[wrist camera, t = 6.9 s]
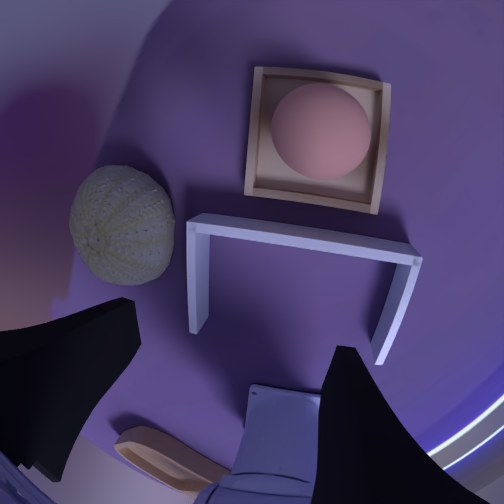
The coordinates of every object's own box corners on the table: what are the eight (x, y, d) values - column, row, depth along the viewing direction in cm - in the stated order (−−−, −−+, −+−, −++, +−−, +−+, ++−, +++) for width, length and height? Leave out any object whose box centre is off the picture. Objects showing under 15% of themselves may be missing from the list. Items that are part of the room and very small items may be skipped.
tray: (373, 210, 16) (377, 214, 15) (248, 192, 17) (243, 195, 16) (385, 88, 13) (390, 84, 12) (258, 72, 14) (254, 66, 13)
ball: (355, 182, 15) (376, 192, 10) (272, 171, 16) (259, 175, 11) (362, 103, 13) (385, 82, 9) (279, 92, 14) (269, 65, 9)
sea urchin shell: (100, 133, 16) (87, 192, 11) (184, 171, 21) (209, 235, 17) (62, 224, 19) (52, 298, 15) (135, 245, 25) (146, 315, 20)
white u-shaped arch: (377, 343, 19) (381, 365, 16) (201, 314, 21) (189, 332, 19) (410, 244, 16) (423, 257, 13) (202, 212, 18) (186, 221, 16)
